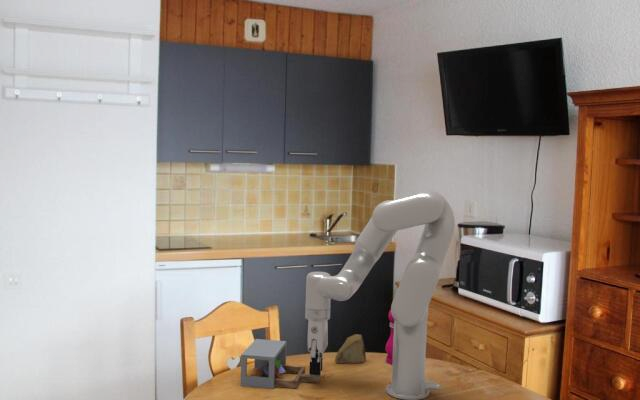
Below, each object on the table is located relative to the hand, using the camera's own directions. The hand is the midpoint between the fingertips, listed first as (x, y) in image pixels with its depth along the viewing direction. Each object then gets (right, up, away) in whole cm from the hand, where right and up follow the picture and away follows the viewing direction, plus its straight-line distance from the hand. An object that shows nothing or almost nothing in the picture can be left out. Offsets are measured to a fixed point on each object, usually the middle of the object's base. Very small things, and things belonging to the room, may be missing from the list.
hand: (315, 372), depth 206 cm
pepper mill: (+27, -3, +22) cm, 35 cm away
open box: (-16, -3, +3) cm, 16 cm away
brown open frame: (-7, -3, +1) cm, 8 cm away
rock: (+11, -2, +22) cm, 25 cm away
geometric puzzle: (-13, -3, +1) cm, 13 cm away
